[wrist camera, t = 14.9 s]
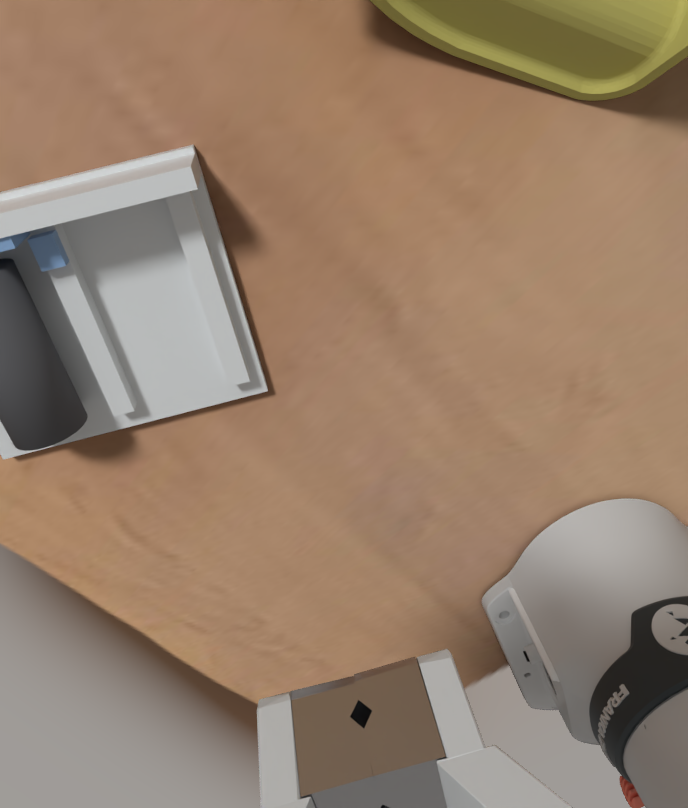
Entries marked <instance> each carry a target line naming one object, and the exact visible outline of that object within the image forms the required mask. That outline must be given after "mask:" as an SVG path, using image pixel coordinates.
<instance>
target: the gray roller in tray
mask: <svg viewBox="0 0 688 808" xmlns="http://www.w3.org/2000/svg"><path fill="white" fill-rule="evenodd" d="M87 417H88V416H87V413H86V411H85V409H84V407H83V404H82V402H81V400H80V398H79V396H78V394H77V392H76V390H75V388H74V386H73V384H72V381H71V379H70V377H69V375H68V373H67V371H66V369H65V367H64V365H63V363H62V361H61V358H60V356H59V354H58V352H57V350H56V348H55V346H54V344H53V342H52V340H51V338H50V336H49V333H48V331H47V329H46V327H45V325H44V323H43V321H42V319H41V317H40V315H39V313H38V310H37V308H36V306H35V304H34V302H33V300H32V298H31V296H30V294H29V292H28V290H27V287H26V285H25V283H24V281H23V279H22V277H21V275H20V273H19V271H18V269H17V267H16V264H15V262H14V260H13V259H10V258H3V259H0V421H1V423H2V425H3V426H4V428H5V430H6V432H7V433H8V435H9V437H10V439H11V441H12V442H13V444H14V446H15V447H16V448H17V449H19V450H24V451H30V450H38V449H42V448H45V447H49V446H51V445H54V444H56V443H59V442H61V441H63V440H65V439H66V438H68V437H70V436H71V435H73V434H74V433H76V432H77V431H78V430H79V429H80V428H81V427H82V426H83V425H84V424H85V422H86V421H87Z"/></svg>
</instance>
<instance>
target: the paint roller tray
mask: <svg viewBox="0 0 688 808" xmlns="http://www.w3.org/2000/svg"><path fill="white" fill-rule="evenodd" d="M3 258H10V259H13V260H14V262H15V264H16V267H17V269H18V271H19V273H20V275H21V277H22V279H23V281H24V283H25V285H26V287H27V290H28V292H29V294H30V296H31V298H32V300H33V302H34V304H35V306H36V308H37V310H38V313H39V315H40V317H41V319H42V321H43V323H44V325H45V327H46V329H47V331H48V333H49V336H50V338H51V340H52V342H53V344H54V346H55V348H56V350H57V352H58V354H59V356H60V358H61V361H62V363H63V365H64V367H65V369H66V371H67V373H68V375H69V377H70V379H71V381H72V384H73V386H74V388H75V390H76V392H77V394H78V396H79V398H80V400H81V402H82V404H83V407H84V409H85V411H86V413H87V416H88V417H87V421H86V422H85V424H84V425H83V426H82V427H81V428H80V429H79V430H78V431H77V432H76V433H74V434H73V435H71V436H70V437H68V438H66V439H65V440H63V441H61V442H59V443H56V444H54V445H51V446H49V447H45V448H42V449H46V448H50V447H54V446H58V445H61V444H65V443H69V442H73V441H77V440H81V439H85V438H89V437H92V436H96V435H100V434H104V433H108V432H112V431H116V430H119V429H123V428H127V427H131V426H135V425H139V424H143V423H147V422H150V421H154V420H158V419H162V418H166V417H170V416H174V415H178V414H181V413H185V412H189V411H193V410H197V409H201V408H205V407H208V406H212V405H216V404H220V403H224V402H228V401H232V400H236V399H239V398H243V397H247V396H251V395H255V394H259V393H263V392H267V391H268V387H267V383H266V379H265V376H264V373H263V369H262V366H261V363H260V360H259V356H258V353H257V350H256V347H255V343H254V340H253V337H252V333H251V330H250V327H249V324H248V320H247V317H246V314H245V311H244V307H243V304H242V301H241V298H240V294H239V291H238V288H237V284H236V281H235V278H234V275H233V271H232V268H231V265H230V262H229V258H228V255H227V252H226V248H225V245H224V242H223V239H222V235H221V232H220V229H219V226H218V222H217V219H216V216H215V213H214V209H213V206H212V203H211V199H210V196H209V193H208V190H207V186H206V183H205V180H204V177H203V173H202V170H201V167H200V163H199V160H198V157H197V154H196V150H195V147H194V144H193V145H189V146H185V147H181V148H177V149H173V150H169V151H165V152H161V153H157V154H153V155H149V156H145V157H141V158H137V159H133V160H128V161H124V162H120V163H116V164H112V165H108V166H104V167H100V168H96V169H92V170H88V171H84V172H80V173H76V174H72V175H68V176H64V177H59V178H55V179H51V180H47V181H43V182H39V183H35V184H31V185H27V186H23V187H19V188H15V189H11V190H7V191H3V192H0V259H3ZM42 449H38V450H42ZM38 450H30V451H24V450H19V449H17V448H16V447H15V446H14V444H13V442H12V441H11V439H10V437H9V435H8V433H7V432H6V430H5V428H4V426H3V425H2V423H1V421H0V455H1V456H2V458H3V459H7V458H11V457H15V456H19V455H23V454H27V453H30V452H34V451H38Z"/></svg>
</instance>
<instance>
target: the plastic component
mask: <svg viewBox="0 0 688 808" xmlns="http://www.w3.org/2000/svg"><path fill="white" fill-rule="evenodd" d="M370 1H371V2H372V3H373V4H375V5H376V6H377V7H378V8H379V9H380V10H381V11H382V12H383V13H384V14H386V15H387V16H388V17H389V18H390V19H391V20H393V21H394V22H395V23H397V24H398V25H400V26H401V27H403V28H404V29H406V30H407V31H408V32H410V33H411V34H413V35H414V36H416V37H418V38H420V39H421V40H423V41H425V42H427V43H428V44H430V45H432V46H434V47H436V48H438V49H440V50H442V51H444V52H446V53H449V54H451V55H453V56H456V57H458V58H461V59H464V60H467V61H470V62H473V63H475V64H478V65H481V66H484V67H487V68H490V69H492V70H495V71H498V72H501V73H504V74H507V75H509V76H512V77H515V78H518V79H521V80H523V81H526V82H529V83H532V84H535V85H538V86H540V87H543V88H546V89H549V90H552V91H555V92H557V93H560V94H563V95H566V96H569V97H572V98H574V99H579V100H588V101H596V100H608V99H613V98H618V97H622V96H625V95H628V94H631V93H633V92H635V91H637V90H639V89H642V88H644V87H645V86H646V85H648V84H649V83H651V82H652V81H653V80H655V79H656V78H658V77H659V76H661V75H662V74H663V73H665V72H666V71H668V70H669V69H670V68H672V67H673V66H675V65H676V64H678V63H679V62H680V61H682V60H683V59H685V58H686V57H688V0H370Z"/></svg>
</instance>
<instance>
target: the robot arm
mask: <svg viewBox="0 0 688 808" xmlns="http://www.w3.org/2000/svg"><path fill="white" fill-rule="evenodd" d="M482 606H483V608H484V610H485V612H486V615H487V617H488V619H489V621H490V624H491V626H492V628H493V630H494V632H495V635H496V637H497V639H498V641H499V644H500V646H501V648H502V650H503V652H504V655H505V657H506V659H507V661H508V664H509V666H510V668H511V670H512V672H513V675H514V677H515V679H516V681H517V683H518V686H519V688H520V690H521V692H522V694H523V696H524V698H525V700H526V702H527V703H528V705H529V706H530V707H531V708H535V709H542V710H559V712H560V713H561V715H562V717H563V719H564V721H565V723H566V726H567V727H568V729H569V731H570V733H571V735H572V736H573V737H574V738H575V739H577V740H579V741H581V742H584V743H589V744H596V745H600V746H601V748H602V751H603V752H604V754H605V755H606V757H607V758H608V760H609V761H610V762H611V764H612V765H613V766H614V767H616V768H617V770H618V771H619V772H620V774H621V775H622V776H620V785H621V787H622V791H623V794H624V795H625V798H626V800H627V802H628V804H629V805H630V807H632V808H641V807H643V806H645V807H646V808H688V527H687V526H685V525H684V524H682V523H681V522H680V521H679V520H678V519H677V518H676V517H675V516H674V515H673V514H672V513H671V512H670V511H668V510H667V509H665V508H664V507H662V506H660V505H658V504H656V503H653V502H649V501H645V500H640V499H614V500H607V501H602V502H598V503H595V504H591V505H588V506H585V507H583V508H580V509H578V510H576V511H574V512H571V513H569V514H568V515H566V516H564V517H562V518H561V519H559V520H557V521H556V522H554V523H553V524H551V525H550V526H549V527H547V528H546V529H545V530H544V531H542V532H541V533H540V534H539V535H538V536H537V537H536V538H535V539H534V540H533V541H532V542H531V543H530V544H529V546H528V547H527V548H526V549H525V551H524V552H523V553H522V555H521V556H520V558H519V559H518V561H517V563H516V564H515V566H514V567H513V569H512V570H511V571H510V572H509V574H508V575H506V576H505V577H504V578H503V579H501V580H500V581H499V582H497V583H496V584H495V585H494V586H493V587H491V588H490V589H489V590H488V591H487V592H486V593H485V595H484V596H483V598H482ZM257 723H258V747H259V748H258V749H259V774H260V796H261V797H260V799H261V808H573V807H572V806H570V805H569V804H568V803H567V802H566V801H564V800H563V799H562V798H561V797H559V796H558V795H557V794H556V793H554V792H553V791H552V790H551V789H549V788H548V787H547V786H546V785H544V784H543V783H542V782H541V781H539V780H538V779H537V778H536V777H534V776H533V775H532V774H531V773H530V772H528V771H527V770H526V769H525V768H523V767H522V766H521V765H520V764H518V763H517V762H516V761H515V760H513V759H512V758H511V757H510V756H508V755H507V754H506V753H505V752H503V751H502V750H501V749H500V748H499V747H497V746H496V745H493V746H488V747H485V744H484V741H483V739H482V736H481V733H480V731H479V728H478V725H477V723H476V720H475V717H474V714H473V711H472V709H471V706H470V703H469V700H468V698H467V695H466V693H465V690H464V687H463V684H462V681H461V679H460V676H459V673H458V670H457V668H456V665H455V662H454V659H453V657H452V654H451V653H450V652H449V650H448V649H444V650H440V651H437V652H433V653H430V654H426V655H423V656H419V657H417V658H415V657H412V658H409V659H405V660H402V661H398V662H395V663H391V664H388V665H384V666H381V667H378V668H374V669H371V670H367V671H364V672H360V673H357V674H354V676H351V677H347V678H343V679H339V680H335V681H331V682H327V683H323V684H318V685H314V686H310V687H306V688H302V689H298V690H294V691H290V692H286V693H282V694H278V695H275V696H271V697H267V698H263V699H260V700H259V703H258V708H257Z"/></svg>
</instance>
